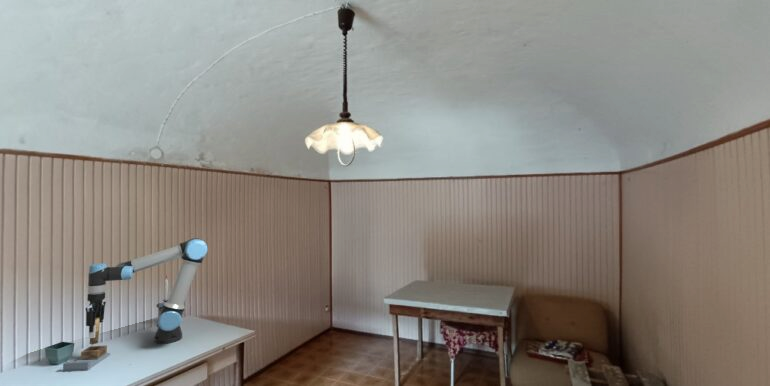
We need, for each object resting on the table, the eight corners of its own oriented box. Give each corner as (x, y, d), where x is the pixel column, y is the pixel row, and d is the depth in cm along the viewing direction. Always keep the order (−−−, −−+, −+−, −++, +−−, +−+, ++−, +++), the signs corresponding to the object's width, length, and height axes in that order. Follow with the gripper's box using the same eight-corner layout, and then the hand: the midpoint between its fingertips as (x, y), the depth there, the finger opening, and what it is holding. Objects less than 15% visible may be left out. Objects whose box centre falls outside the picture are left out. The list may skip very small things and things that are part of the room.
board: (110, 354, 199) (110, 347, 199) (87, 370, 181) (87, 362, 181) (87, 356, 198) (88, 348, 198) (62, 371, 179) (63, 363, 179)
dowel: (99, 341, 196) (100, 317, 197) (95, 344, 193) (96, 319, 193) (92, 341, 196) (93, 317, 196) (88, 344, 192) (89, 319, 193)
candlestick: (164, 328, 243) (166, 276, 244) (151, 326, 246) (153, 275, 248) (177, 323, 253) (179, 273, 255) (165, 321, 257) (167, 272, 258)
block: (106, 352, 199) (106, 345, 199) (97, 358, 191) (97, 351, 191) (90, 353, 197) (90, 346, 198) (80, 359, 190) (80, 352, 190)
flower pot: (56, 367, 184) (57, 349, 184) (43, 365, 186) (43, 347, 186) (74, 359, 193) (75, 342, 193) (61, 358, 194) (62, 341, 195)
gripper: (98, 289, 203) (96, 331, 202) (78, 296, 187) (76, 342, 186) (113, 289, 204) (111, 330, 203) (94, 296, 188) (92, 341, 187)
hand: (94, 336), depth 194 cm, fingers closed on dowel, 3 cm apart
